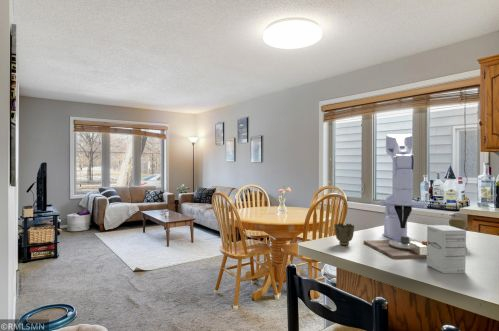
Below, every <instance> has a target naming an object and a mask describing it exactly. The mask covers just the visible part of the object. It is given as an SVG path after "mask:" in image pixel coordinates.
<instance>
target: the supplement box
mask: <svg viewBox="0 0 499 331" xmlns="http://www.w3.org/2000/svg"><path fill="white" fill-rule="evenodd" d="M426 227H427V228H426V229H427V230H426V233H427V235H426V241H427V258H426V265H427V267H431V268H433V269H434V270H436V271H438V272H440V273H441V274H466V253H467V230H465V229H464V230H462V229H459V228H455V227H452V226H450V225H449V224H448V225H447V224H446V225H443V224H442V225H441V224H440V225H439V224H434V225H426Z"/></svg>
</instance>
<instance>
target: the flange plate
mask: <svg viewBox="0 0 499 331" xmlns="http://www.w3.org/2000/svg"><path fill="white" fill-rule="evenodd" d="M389 240H390V241H389V245H390V246H392V247H394V248H398V249H404V250H411V251H413V252H415V253H417V254H419V255H427V246H425V245H423V244H421V243H418V242H415V241H410V240H409V243H402V242H401V239H395V240H394V239H389Z"/></svg>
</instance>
